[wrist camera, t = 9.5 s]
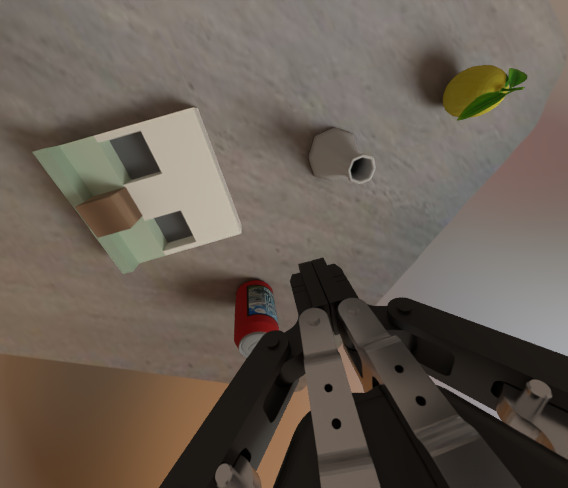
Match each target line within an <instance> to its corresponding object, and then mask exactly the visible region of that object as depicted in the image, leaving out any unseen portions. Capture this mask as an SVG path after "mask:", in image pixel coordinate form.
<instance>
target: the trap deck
mask: <svg viewBox="0 0 568 488" xmlns="http://www.w3.org/2000/svg"><path fill="white" fill-rule="evenodd" d="M32 153H33V154H34V155H35V157H36V158H37V159H38V161H39V162H40V163H41V165H42V166H43V167H44V169H45V170H46V171H47V173H48V174H49V175H50V177H51V178H52V179H53V181H54V182H55V183H56V185H57V186H58V187H59V189H60V190H61V192H62V193H63V194H64V196H65V197H66V198H67V200H68V201H69V202H70V204H71V205H72V206H73V208H74V209H75V210H76V208H75V207H76V206H77V205H79V204H81V203H83V202H85V201H86V200H88V199H90V198H92V197H93V196H96V195H99V194H103V193H107V192H110V191H114V190H117V189H121V188H124V187H126V188H127V190H128V192H129V194H130V195H131V197H132V199H133V200H134V202H135V204H136V205H137V207H138V209H139V210H140V212H141V214H142V215H143V216H142V217H141V218H140V219H139V220H138V221H137V222H136V223H135V224H134V225H133V226H132V227H131V229H128V230H124V231H120V232H117V233H113V234H110V235H106V236H103V237H99V238H97V237H96V235H95V234H94V233H93V231H92V230H91V229H90V227H89V226H88V224H87V223H86V222H85V220H84V219H83V218H82V216H81V215H80V214H79V212H78V211H77V210H76V212H77V213H78V214H79V216H80V217H81V218H82V220H83V221H84V222H85V224H86V225H87V226H88V228H89V229H90V230H91V232H92V233H93V234H94V236H95V237H96V238H97V240H98V241H99V242H100V244H101V245H102V246H103V248H104V249H105V250H106V252H107V253H108V255H109V256H110V257H111V259H112V260H113V261H114V263H115V264H116V265H117V267H118V268H119V269H120V271H121V272H122V273H123V274H125V273H129V272H132V271H134V270H135V268H136V267H137V265H138V264H139V263H141V262H145V261H148V260H152V259H155V258H159V257H162V256H166V255H169V254H173V253H176V252H179V251H183V250H186V249H190V248H193V247H197V246H200V245H204V244H207V243H211V242H214V241H217V240H221V239H224V238H228V237H231V236H235V235H238V234H241V222H240V220H239V217H238V214H237V212H236V209H235V206H234V204H233V201H232V198H231V196H230V193H229V190H228V188H227V185H226V182H225V180H224V177H223V174H222V172H221V169H220V166H219V164H218V161H217V158H216V156H215V153H214V150H213V148H212V145H211V142H210V140H209V137H208V134H207V132H206V129H205V126H204V124H203V121H202V118H201V116H200V113H199V110H198V108H194V107H193V108H189V109H186V110H182V111H179V112H175V113H172V114H168V115H165V116H161V117H158V118H154V119H151V120H147V121H144V122H140V123H137V124H133V125H130V126H126V127H122V128H119V129H115V130H112V131H108V132H105V133H101V134H98V135H94V136H91V137H87V138H84V139H80V140H77V141H73V142H70V143H66V144H63V145H59V146H54V147H49V148H44V149H41V150H37V151H34V152H32Z"/></svg>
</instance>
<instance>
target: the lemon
mask: <svg viewBox="0 0 568 488" xmlns="http://www.w3.org/2000/svg"><path fill="white" fill-rule="evenodd" d="M526 79H527V75H526V74H525V73H524V72H521V71H519V70H517V69H513V68H510V69H509V79H508V76H507V74H506V73H505V72H504V71H503V70H501V69H500V68H498V67H495V66H492V65H482V66H474V67H471V68H468V69H466V70H464V71H462V72H460V73H459V74H458V75H456V76H455V77H454V78H453V79H452V80H451V81H450V82H449V84H448V85H447V87H446V89H445V91H444V95H443V106H444V108H445V110H446V111H447V112H448V113H449V114H451V115H452V116H456V117H459V118H458V119H457V120H463V119H466V118H469V117H476V116H480V115H482V114H484V113H486V112H488V111H490V110H492V109H493V108H495V107H496V106H497V105H498V104H499V103H500V102H501V101H502V100H503V99H504V97H505V96H506V95H507V94H509V93H511V92H513V91H516V90H522V89H523V88H524V87H519V88H512V87H514V86H516V85H519V84H521V83H522V82H524V81H525V80H526ZM509 84H510V89H508V88H509ZM507 91H510V92H507Z"/></svg>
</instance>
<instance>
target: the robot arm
mask: <svg viewBox="0 0 568 488" xmlns="http://www.w3.org/2000/svg"><path fill="white" fill-rule="evenodd" d="M298 265H299V270H300V273H297V274H293V275H292V276H291V280H290V283H291V287H292V291H293V295H294V299H295V303H296V306H297V310H298V315H299V316H298V321H297V323H296V324H295V325H294V326H293V327H292V328H291V329H290V330H288V331H286V332H285V333H284V332H282V331H279V330H273V331H269V332H267V333H266V334H264V335H263V336H262V337H261V339H260V340H259V341H258V343H257V344H256V346H255V347H254V349H253V350H252V352H251V353H250V355H249V356H248V358H247V359H246V361H245V362H244V363H243V365H242V366H241V368H240V369H239V371H238V372H237V374H236V375H235V377H234V378H233V380H232V381H231V383H230V384H229V386H228V387H227V389H226V390H225V391H224V393H223V394H222V396H221V397H220V399H219V400H218V402H217V403H216V405H215V406H214V408H213V409H212V411H211V412H210V413H209V415H208V416H207V418H206V419H205V421H204V422H203V424H202V425H201V427H200V428H199V430H198V431H197V433H196V434H195V435H194V437H193V439H192V440H191V441H190V443H189V444H188V446H187V447H186V449H185V450H184V452H183V453H182V455H181V456H180V458H179V459H178V461H177V462H176V463H175V465H174V466H173V468H172V469H171V471H170V472H169V474H168V475H167V477H166V478H165V480H164V481H163V483H162V484H161V485H160V487H159V488H262V487H261V480H260V477H259V475H258V473H257V472H256V470H257V468H258V466H259V464H260V462H261V460H262V458H263V455H264V454H265V451H266V449H267V447H268V445H269V443H270V441H271V439H272V437H273V435H274V432H275V430H276V428H277V426H278V424H279V422H280V420H281V418H282V416H283V413H284V411H285V409H286V407H287V405H288V403H289V401H290V399H291V397H292V394H293V392H294V390H295V388H296V386H297V384H298V382H299V378H300V377H301V376H303V375H304V374H306V380H307V387H308V393H309V400H310V407H311V411H310V412H308V413H307V414H306V416H305V417H303V419H302V420H301V422H300V423H299V424H298V426H297V428H296V430H295V432H294V434H293V437H292V439H291V442H290V445H289V447H288V450H287V452H286V455H285V458H284V461H283V463H282V465H281V468H280V471H279V473H278V476H277V478H276V481H275V484H274V486H273V488H568V356H565V355H563V354H560V353H557V352H554V351H552V350H549V349H546V348H543V347H541V346H537V345H535V344H532V343H530V342H527V341H524V340H521V339H519V338H516V337H513V336H510V335H508V334H505V333H502V332H499V331H497V330H494V329H491V328H488V327H485V326H483V325H480V324H477V323H475V322H472V321H469V320H466V319H463V318H461V317H458V316H455V315H453V314H449V313H447V312H444V311H442V310H439V309H436V308H433V307H430V306H428V305H425V304H422V303H420V302H416V301H414V300H411V299H408V298H395V299H393V300H391V301H390V302H389V303H388V306H372V305H368V304H366V303H365V302H364V301H363V300H361V299H359V298H358V296H357V295H356V293H355V291H354V289H353V288H352V286H351V284H350V283H349V281H348V280H347V278H346V276H345V275H344V273H343V271H342V269H341V268H340V267H339V266H337V265H336V264H331V265H327V264H326V262H325V260H324V258H320V259H316V260H312V261H311V262H310V261H308V262H305V263H301V264H298ZM333 332H334V334H335V335H338V334H340V336H341V338H342V341H343V347H344V349H345V351H346V353H347V355H348V357H349V359H350V361H351V363H352V365H353V367H354V369H355V371H356V373H357V375H358V377H359V379H360V381H361V384H362V386H363V389H364V392H365V393H351V389H350V386H349V383H348V379H347V376H346V372H345V369H344V366H343V363H342V359H341V356H340V353H339V352H338V349H337V346H336V343H335V339H334V334H333ZM427 374H428V375H430V376H432V377H434V378H435V379H438V380H439V381H441V382H443V383H445V384H447V385H448V386H450V387H452V388H454V389H456V390H458V391H460V392H461V393H463V394H465V395H467V396H469V397H471V398H473V399H474V400H476V401H478V402H480V403H482V404H484V405H486V406H487V407H489V408H491V409H493V410H495V411H497V414H498V415H499V417H500V419H501V420H502V421H503V422H502V421H500V420H499V419H497V418H495V417H494V416H492V415H490V414H488V413H486V412H485V411H483V410H481V409H479V408H478V407H476V406H474V405H473V404H471V403H469V402H468V401H466V400H464V399H463V398H461V397H459V396H457V395H456V394H454V393H452V392H450V391H449V390H447V389H445V388H442V387H440V386H438V385H435V384H434V382H433V381H432V380H431V378H430V377H429V376H428V375H427Z"/></svg>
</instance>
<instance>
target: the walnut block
mask: <svg viewBox="0 0 568 488" xmlns="http://www.w3.org/2000/svg"><path fill="white" fill-rule="evenodd" d="M75 208H76V210H77V211H78V212H79V214H80V215H81V216H82V218H83V219H84V220H85V222H86V223H87V224H88V226H89V227H90V229H91V230H92V231H93V233H94V234H95V235H96V237H97V238H99V237H103V236H106V235H110V234H113V233H117V232H120V231H124V230H128V229H131V227H132V226H133V225H134V224H135V223H136V222H137V221H138V220H139V219H140V218H141V217H142V216H143V215H142V214H141V212H140V210H139V209H138V207H137V205H136V204H135V202H134V200H133V199H132V197H131V195H130V194H129V192H128V190H127V188H126V187H124V188H121V189H117V190H114V191H110V192H107V193H103V194H99V195H96V196H93V197H92V198H90V199H88V200H86V201H85V202H83V203H81V204H79V205H77V206H76V207H75Z"/></svg>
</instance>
